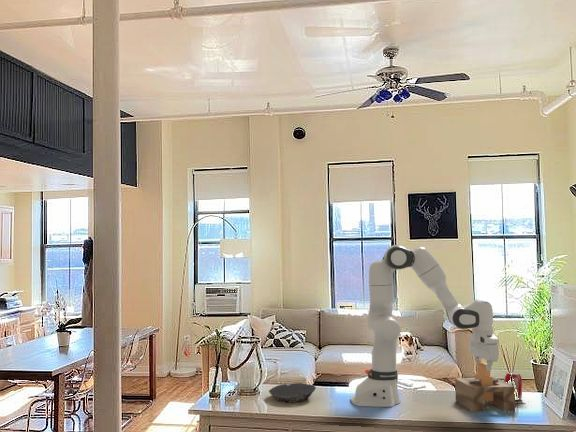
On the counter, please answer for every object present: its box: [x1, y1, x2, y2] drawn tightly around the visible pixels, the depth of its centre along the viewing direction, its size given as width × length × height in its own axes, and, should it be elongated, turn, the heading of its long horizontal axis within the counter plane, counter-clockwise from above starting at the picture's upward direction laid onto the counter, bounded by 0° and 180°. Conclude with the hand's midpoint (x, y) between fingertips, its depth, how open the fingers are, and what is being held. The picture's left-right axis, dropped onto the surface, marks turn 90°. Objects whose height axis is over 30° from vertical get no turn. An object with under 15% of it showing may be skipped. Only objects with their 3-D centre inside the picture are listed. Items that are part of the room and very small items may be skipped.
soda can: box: [504, 371, 523, 401], centre depth 249 cm, size 7×7×12 cm
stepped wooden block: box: [474, 362, 494, 402], centre depth 240 cm, size 5×6×16 cm
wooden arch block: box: [454, 376, 516, 413], centre depth 240 cm, size 19×17×12 cm
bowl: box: [268, 382, 317, 404], centre depth 251 cm, size 22×22×5 cm
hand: (483, 367), depth 241 cm, fingers open, 8 cm apart
